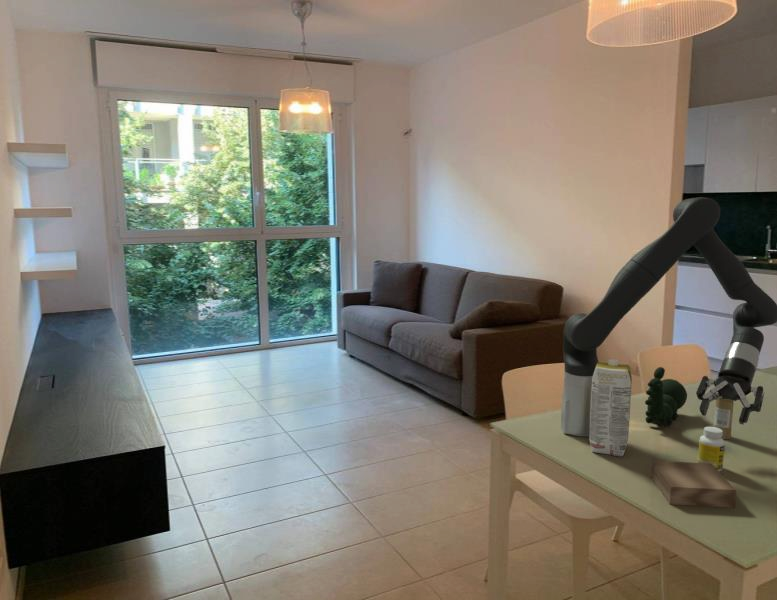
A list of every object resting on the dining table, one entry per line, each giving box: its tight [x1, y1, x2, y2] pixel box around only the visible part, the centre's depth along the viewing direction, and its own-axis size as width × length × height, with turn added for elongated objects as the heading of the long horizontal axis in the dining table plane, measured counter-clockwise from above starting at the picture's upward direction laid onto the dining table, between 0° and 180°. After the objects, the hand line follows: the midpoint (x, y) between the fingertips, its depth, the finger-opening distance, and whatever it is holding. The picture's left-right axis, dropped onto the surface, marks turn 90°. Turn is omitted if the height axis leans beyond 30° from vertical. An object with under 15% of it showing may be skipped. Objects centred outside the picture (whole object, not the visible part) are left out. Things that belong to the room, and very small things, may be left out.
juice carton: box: [589, 358, 633, 457], centre depth 152 cm, size 9×8×24 cm
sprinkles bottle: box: [713, 392, 735, 440], centre depth 162 cm, size 5×5×13 cm
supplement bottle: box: [697, 426, 726, 472], centre depth 143 cm, size 5×5×10 cm
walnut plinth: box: [650, 460, 737, 509], centre depth 132 cm, size 13×13×4 cm
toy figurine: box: [644, 366, 688, 427], centre depth 174 cm, size 9×19×25 cm
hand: (721, 418), depth 146 cm, fingers open, 8 cm apart
